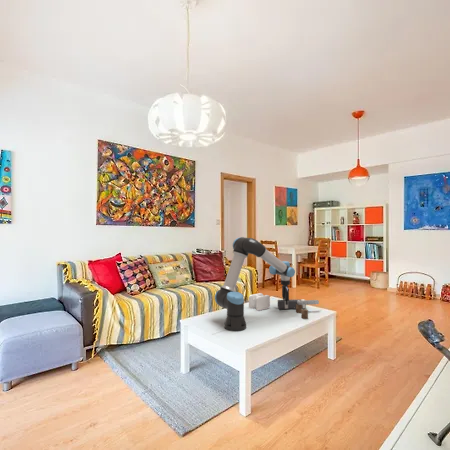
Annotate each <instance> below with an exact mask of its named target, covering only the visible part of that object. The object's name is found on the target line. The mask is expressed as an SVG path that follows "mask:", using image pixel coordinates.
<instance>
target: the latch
mask: <svg viewBox="0 0 450 450" xmlns="http://www.w3.org/2000/svg"><path fill="white" fill-rule="evenodd" d="M296 300H297V305H306V306H307V305H319V304H320V302H319V301H320V300H318V299H309V300H308V299H304V300H301V299H296Z"/></svg>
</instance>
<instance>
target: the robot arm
mask: <svg viewBox="0 0 450 450" xmlns="http://www.w3.org/2000/svg"><path fill="white" fill-rule="evenodd" d="M232 249H233V251H232V253H233V257H232V260H231V262H230V265H229V268H228V271H227V274H226V278H225V280H224V283H223V285H221V286H220V288H219V289H218V290H217V291H216V292H215V294H214V301H215V303H216V305H218V306H219V307H221V308H223V309H226V319H225V321H224V329H225V330H228V331H232V332H241V331H244V330H245V329H247V321H246V319H245V314H244V313H245V310H244V309H245V307H244V306H245V305H244V304H245V298H244V294H243V293H241V292H239V291H236V289H235V288H236V286H237V283H238V280H239V276H240V273H241V271H242V268H243V264H244V262H245V259H246V258H248V256H249V254H250V255H253V256H254V257H257V258H260V259H262V260H263V261H264V262H266V263H267V264H268V265H270V266H269V268H268V271H269V273H270V275H274V276H275V275H278V276H279V277H280V285H282V286H281V295H282V296H281V297H282V300H284V301H285V309H286V308H288V301H289V300H290V288H289V285H291V281H290V280H291V278H292V277H294V276H295V274H296V271H295V268H294V267H291V263H290V261H288V260H287V261H286V260H281V259H280V258H278V257H277V256H275V254H273V253H272V252H270V251H269V250H268V249H267V248H266V246H265V245H264V244H262V243H261V242H260V241H258V240H256V239H255V238H252V237H244V236H241V237H237V238H235V239H234V240H233V243H232ZM286 310H287V309H286Z"/></svg>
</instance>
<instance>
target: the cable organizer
mask: <svg viewBox="0 0 450 450" xmlns="http://www.w3.org/2000/svg"><path fill="white" fill-rule="evenodd" d="M270 306H271V296H270V295H268V294H265V295H264V294H263V293H262V292H259V293H254V294H250V295H249V296H248V308H250V309H255V310H257V311H264V310H268V309H270Z"/></svg>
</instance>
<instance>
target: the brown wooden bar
mask: <svg viewBox="0 0 450 450" xmlns="http://www.w3.org/2000/svg"><path fill="white" fill-rule="evenodd" d="M295 313H296V314H300V315H301V319H303V320H308V319H309V310H308V309H307V308H302V305H297V304H296V308H295Z"/></svg>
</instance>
